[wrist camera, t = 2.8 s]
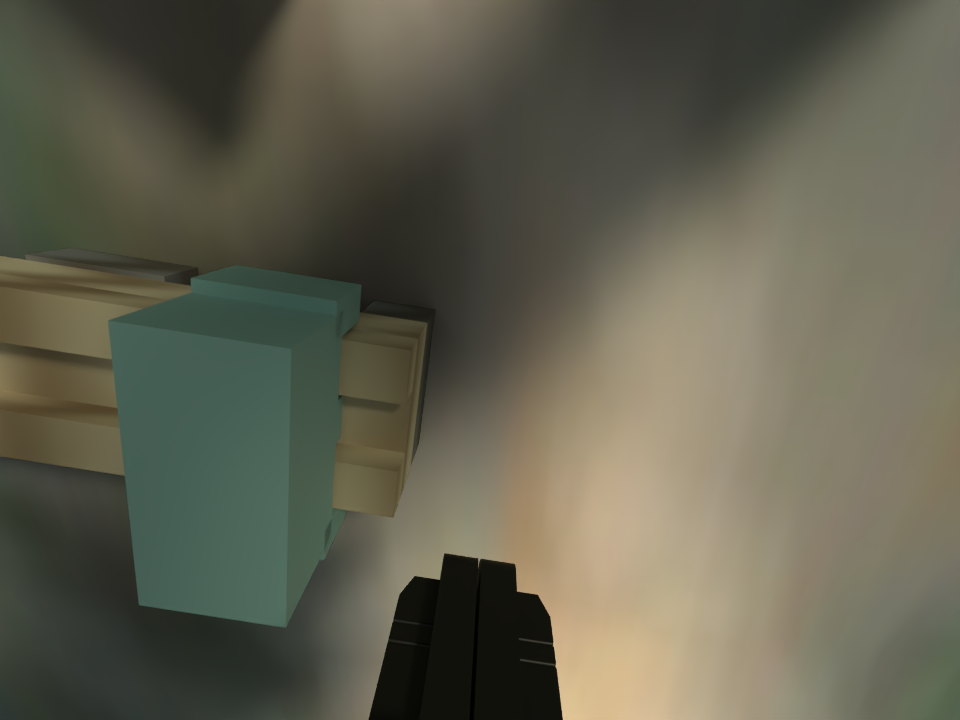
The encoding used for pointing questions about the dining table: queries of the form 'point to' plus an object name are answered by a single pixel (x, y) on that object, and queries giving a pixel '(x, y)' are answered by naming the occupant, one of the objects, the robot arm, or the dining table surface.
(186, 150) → the dining table surface
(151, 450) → the rider
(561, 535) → the dining table surface
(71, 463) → the beam
